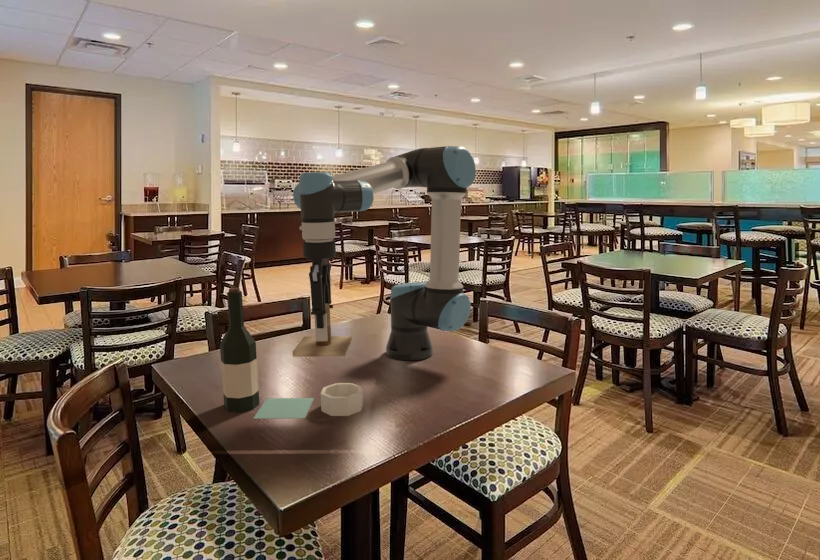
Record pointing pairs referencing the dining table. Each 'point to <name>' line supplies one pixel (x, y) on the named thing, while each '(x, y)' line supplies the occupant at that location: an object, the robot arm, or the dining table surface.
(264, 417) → the mat
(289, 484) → the dining table surface
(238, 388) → the wine bottle
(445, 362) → the dining table surface
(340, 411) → the bowl
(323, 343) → the beech lid
